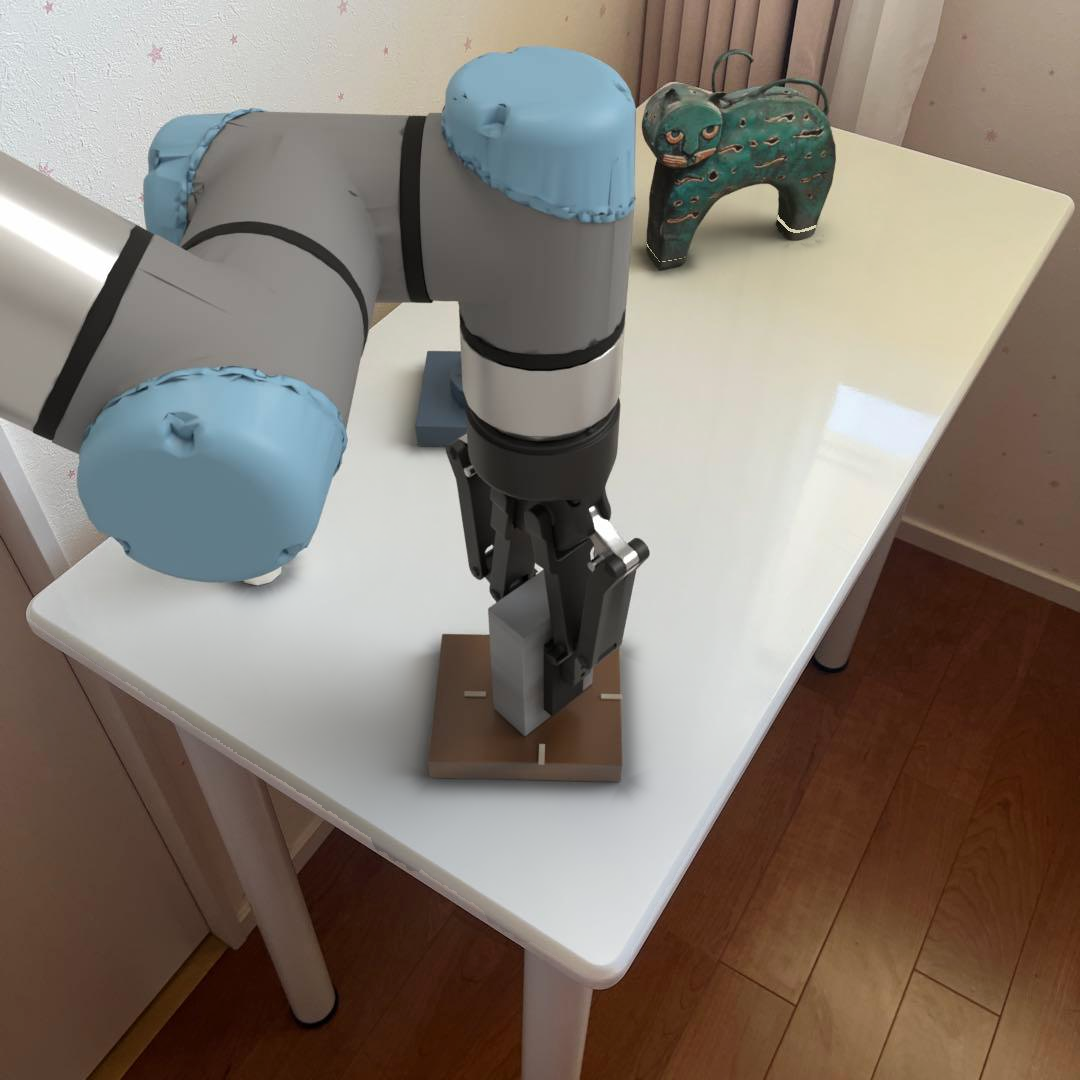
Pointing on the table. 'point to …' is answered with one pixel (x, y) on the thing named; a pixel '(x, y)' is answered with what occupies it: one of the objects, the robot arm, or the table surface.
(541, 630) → the grey slab
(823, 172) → the ceramic cat
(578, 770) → the panel
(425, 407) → the button block
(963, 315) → the table surface
